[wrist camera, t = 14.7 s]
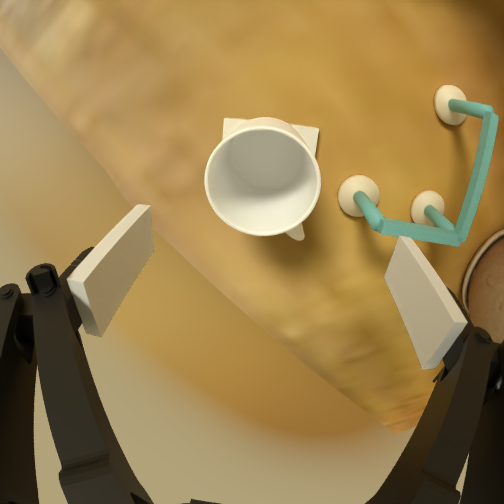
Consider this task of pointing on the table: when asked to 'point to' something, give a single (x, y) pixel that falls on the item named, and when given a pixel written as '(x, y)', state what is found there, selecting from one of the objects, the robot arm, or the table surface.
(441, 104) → the wire course
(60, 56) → the table surface
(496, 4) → the table surface
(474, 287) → the potted plant
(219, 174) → the mug
